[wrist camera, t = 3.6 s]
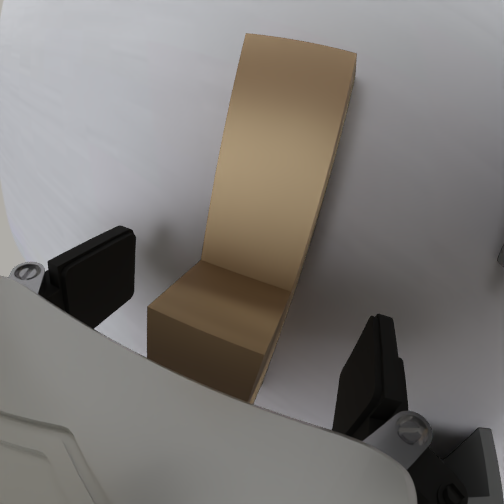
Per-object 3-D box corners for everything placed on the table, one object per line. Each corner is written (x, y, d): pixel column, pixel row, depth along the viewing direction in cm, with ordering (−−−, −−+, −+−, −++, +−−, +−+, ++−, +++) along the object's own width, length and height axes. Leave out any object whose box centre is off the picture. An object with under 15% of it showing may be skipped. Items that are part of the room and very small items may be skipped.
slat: (275, 60, 10) (195, -7, 4) (355, 78, 9) (358, 9, 4) (211, 362, 16) (152, 450, 11) (262, 382, 16) (217, 480, 10)
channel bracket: (399, 414, 14) (397, 513, 8) (490, 429, 12) (504, 508, 7) (360, 456, 16) (346, 538, 10) (446, 468, 14) (447, 540, 9)
